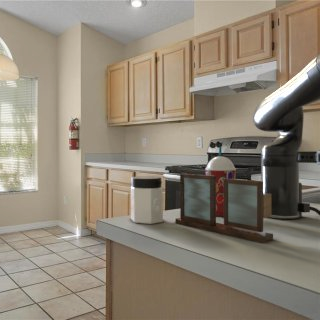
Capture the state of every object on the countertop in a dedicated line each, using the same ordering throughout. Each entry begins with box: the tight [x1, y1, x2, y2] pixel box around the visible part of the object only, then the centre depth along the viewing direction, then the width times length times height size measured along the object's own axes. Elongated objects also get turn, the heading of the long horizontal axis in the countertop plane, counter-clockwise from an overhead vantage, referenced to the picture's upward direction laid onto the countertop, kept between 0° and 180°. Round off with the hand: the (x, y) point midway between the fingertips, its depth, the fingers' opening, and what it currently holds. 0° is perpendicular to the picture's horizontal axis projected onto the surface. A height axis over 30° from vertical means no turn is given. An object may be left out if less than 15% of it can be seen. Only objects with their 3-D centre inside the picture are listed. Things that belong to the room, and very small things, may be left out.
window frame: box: [175, 173, 274, 244], centre depth 79 cm, size 23×4×13 cm, turn 33°
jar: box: [130, 175, 164, 225], centre depth 91 cm, size 9×8×12 cm
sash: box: [223, 178, 271, 232], centre depth 76 cm, size 9×4×11 cm, turn 33°
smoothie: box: [204, 146, 237, 217], centre depth 97 cm, size 8×8×20 cm
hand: (298, 156), depth 67 cm, fingers closed
